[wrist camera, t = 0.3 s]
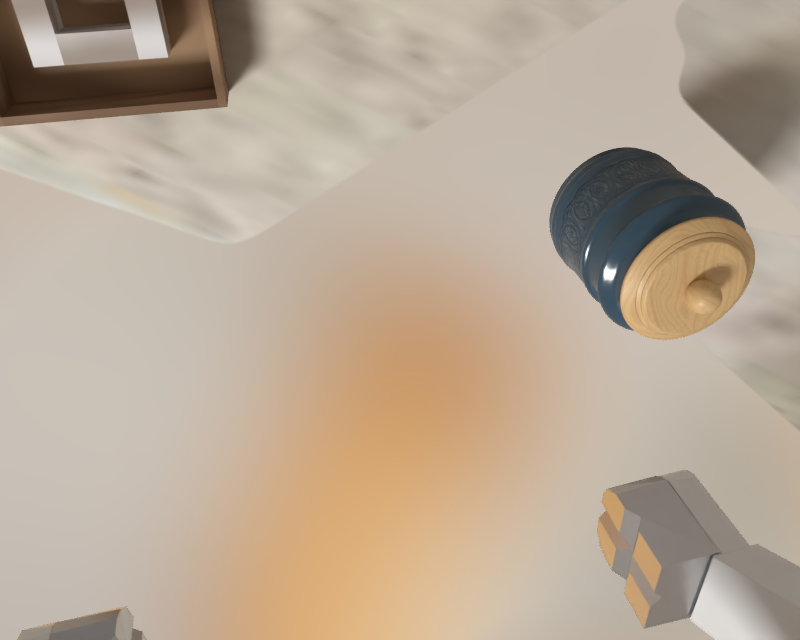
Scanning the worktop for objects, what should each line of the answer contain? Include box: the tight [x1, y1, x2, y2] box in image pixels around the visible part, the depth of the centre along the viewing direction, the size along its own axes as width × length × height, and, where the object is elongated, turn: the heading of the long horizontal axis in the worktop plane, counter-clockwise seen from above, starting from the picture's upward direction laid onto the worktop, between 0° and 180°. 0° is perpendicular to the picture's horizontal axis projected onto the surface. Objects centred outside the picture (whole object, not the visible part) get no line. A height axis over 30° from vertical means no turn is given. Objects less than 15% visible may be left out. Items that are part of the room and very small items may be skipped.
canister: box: [550, 148, 755, 340], centre depth 57 cm, size 13×13×18 cm
